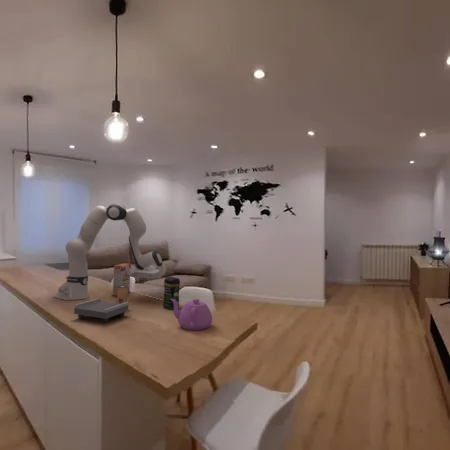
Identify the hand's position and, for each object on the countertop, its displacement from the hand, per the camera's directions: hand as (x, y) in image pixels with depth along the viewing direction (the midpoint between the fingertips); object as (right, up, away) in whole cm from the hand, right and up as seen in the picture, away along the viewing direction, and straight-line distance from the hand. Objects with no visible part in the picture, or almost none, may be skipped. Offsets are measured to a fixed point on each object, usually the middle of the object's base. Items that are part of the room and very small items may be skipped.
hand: (137, 275), depth 205 cm
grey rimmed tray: (-11, -18, -29) cm, 35 cm away
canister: (-5, -18, -13) cm, 23 cm away
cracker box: (-18, -17, +28) cm, 38 cm away
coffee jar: (+21, -19, -3) cm, 29 cm away
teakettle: (+37, -20, -37) cm, 56 cm away
